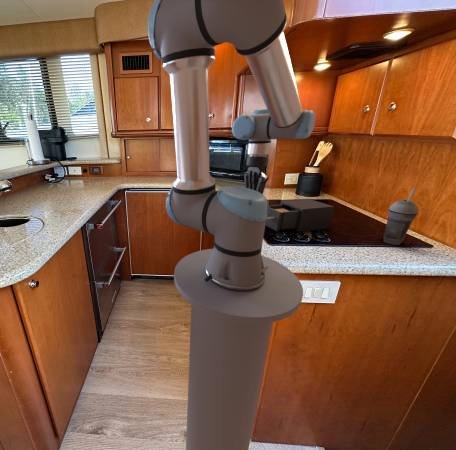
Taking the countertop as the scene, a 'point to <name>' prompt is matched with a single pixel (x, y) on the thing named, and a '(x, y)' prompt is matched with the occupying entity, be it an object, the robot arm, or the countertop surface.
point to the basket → (288, 217)
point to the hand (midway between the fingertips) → (250, 215)
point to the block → (281, 211)
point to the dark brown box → (311, 214)
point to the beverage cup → (399, 220)
